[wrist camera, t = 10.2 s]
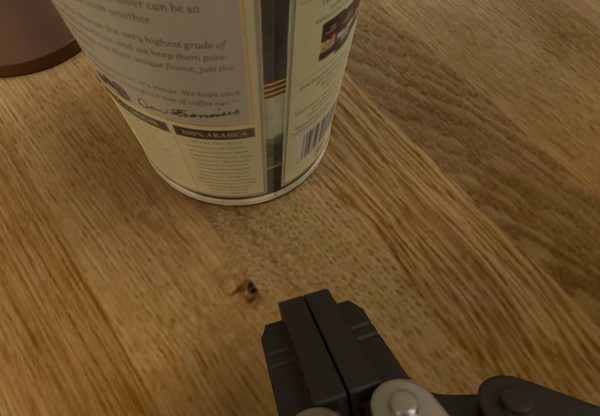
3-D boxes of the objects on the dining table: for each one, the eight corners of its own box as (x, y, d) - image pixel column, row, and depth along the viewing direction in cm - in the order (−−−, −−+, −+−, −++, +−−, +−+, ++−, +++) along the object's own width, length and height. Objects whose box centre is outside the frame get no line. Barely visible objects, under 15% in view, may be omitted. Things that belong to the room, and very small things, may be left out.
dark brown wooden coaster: (8, 106, 19) (-3, 96, 18) (-114, 22, 21) (-129, 9, 20) (142, 3, 23) (138, -9, 22) (29, -63, 24) (21, -76, 24)
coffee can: (166, 40, 22) (9, -439, 9) (336, 64, 22) (431, -368, 9) (112, 194, 18) (-336, -274, 5) (322, 221, 18) (457, -150, 5)
